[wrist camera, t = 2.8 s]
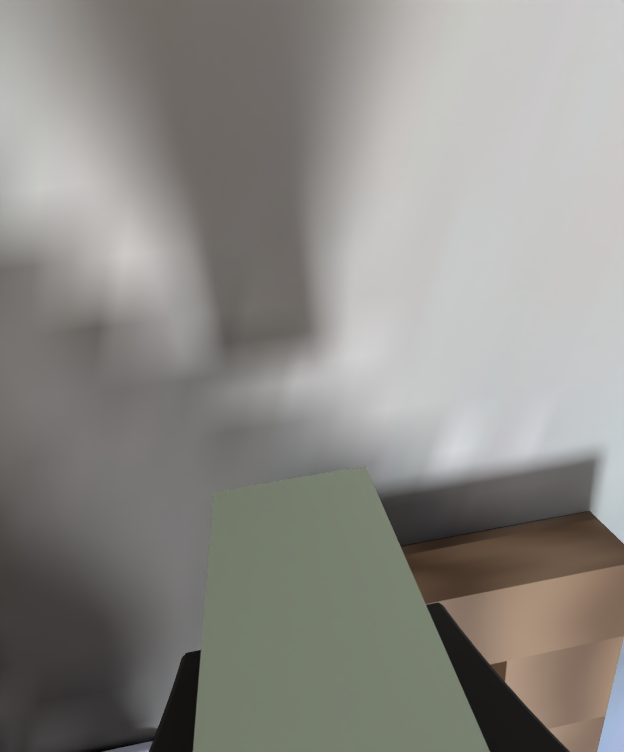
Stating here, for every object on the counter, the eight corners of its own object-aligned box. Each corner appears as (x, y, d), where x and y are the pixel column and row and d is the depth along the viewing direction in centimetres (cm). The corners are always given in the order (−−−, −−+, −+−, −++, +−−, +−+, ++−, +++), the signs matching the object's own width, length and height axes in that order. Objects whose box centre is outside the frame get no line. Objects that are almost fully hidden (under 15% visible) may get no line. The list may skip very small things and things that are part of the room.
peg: (239, 604, 14) (240, 1234, 6) (213, 492, 12) (161, 1145, 4) (373, 577, 14) (560, 1136, 6) (365, 465, 13) (605, 1017, 4)
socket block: (277, 769, 26) (282, 841, 23) (232, 578, 20) (232, 642, 17) (557, 707, 27) (593, 767, 24) (589, 511, 21) (641, 561, 18)
